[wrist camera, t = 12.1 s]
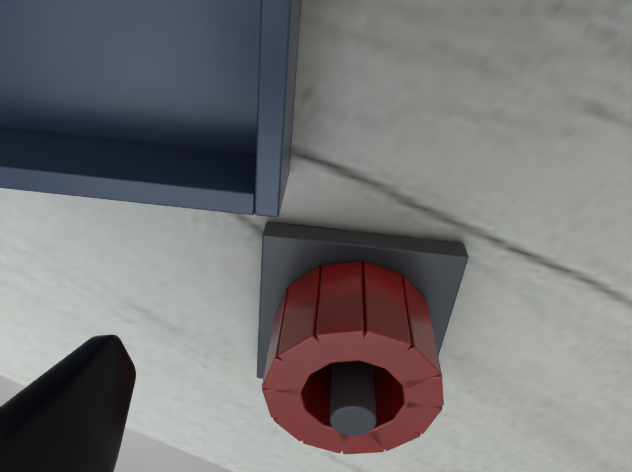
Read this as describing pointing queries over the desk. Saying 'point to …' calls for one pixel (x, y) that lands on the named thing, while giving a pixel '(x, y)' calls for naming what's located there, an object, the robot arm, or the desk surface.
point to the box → (150, 100)
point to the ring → (353, 355)
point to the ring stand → (347, 246)
